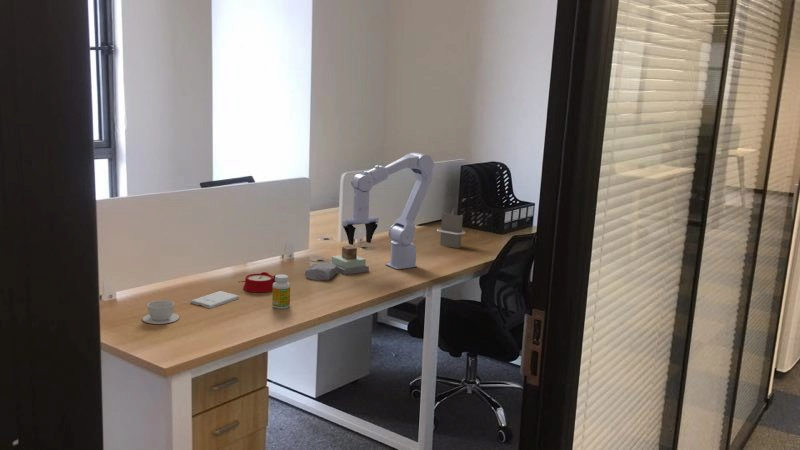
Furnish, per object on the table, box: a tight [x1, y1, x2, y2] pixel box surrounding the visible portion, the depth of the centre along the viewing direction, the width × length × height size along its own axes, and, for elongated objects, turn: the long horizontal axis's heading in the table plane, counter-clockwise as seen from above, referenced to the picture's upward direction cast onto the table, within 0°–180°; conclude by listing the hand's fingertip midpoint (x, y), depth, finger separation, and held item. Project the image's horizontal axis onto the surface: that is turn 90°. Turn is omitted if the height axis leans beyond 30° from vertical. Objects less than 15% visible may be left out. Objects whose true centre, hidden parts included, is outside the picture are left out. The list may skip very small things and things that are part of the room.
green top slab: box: [331, 254, 367, 269], centre depth 271 cm, size 9×9×2 cm
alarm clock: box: [238, 271, 277, 294], centre depth 243 cm, size 10×6×15 cm
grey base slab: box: [327, 261, 370, 275], centre depth 271 cm, size 11×11×2 cm
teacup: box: [142, 299, 180, 325], centre depth 208 cm, size 10×10×5 cm
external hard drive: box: [190, 290, 240, 309], centre depth 227 cm, size 2×8×12 cm
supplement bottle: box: [271, 273, 291, 310], centre depth 224 cm, size 5×5×10 cm
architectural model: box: [436, 212, 466, 249], centre depth 316 cm, size 20×25×15 cm
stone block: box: [304, 262, 338, 281], centre depth 261 cm, size 12×5×10 cm
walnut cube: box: [341, 245, 358, 260], centre depth 270 cm, size 4×4×4 cm
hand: (359, 243), depth 268 cm, fingers open, 7 cm apart
